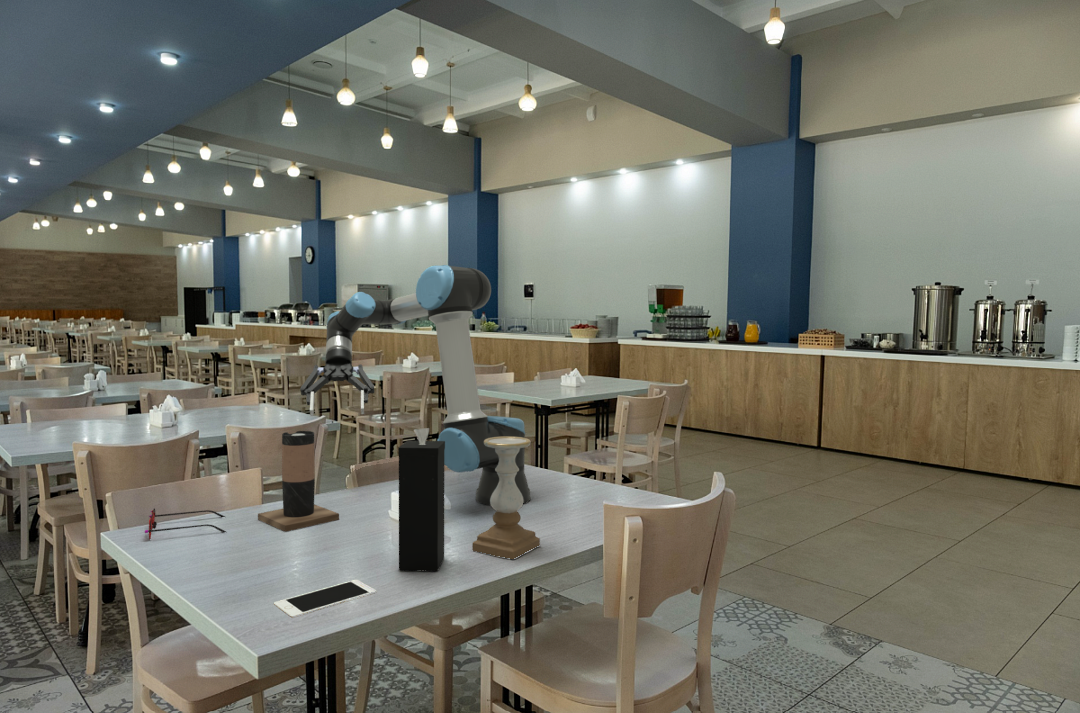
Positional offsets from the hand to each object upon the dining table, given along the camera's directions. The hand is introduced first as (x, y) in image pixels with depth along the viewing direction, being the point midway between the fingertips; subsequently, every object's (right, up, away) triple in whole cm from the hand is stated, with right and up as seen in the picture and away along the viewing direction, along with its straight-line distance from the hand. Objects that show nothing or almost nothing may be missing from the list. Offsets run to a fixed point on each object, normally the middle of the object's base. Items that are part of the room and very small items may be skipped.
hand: (337, 412), depth 191 cm
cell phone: (+18, -28, -69) cm, 76 cm away
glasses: (-27, -26, -29) cm, 47 cm away
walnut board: (-3, -25, -21) cm, 33 cm away
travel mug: (-3, -24, -21) cm, 32 cm away
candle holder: (+49, -27, -41) cm, 69 cm away
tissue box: (+33, -27, -52) cm, 67 cm away
